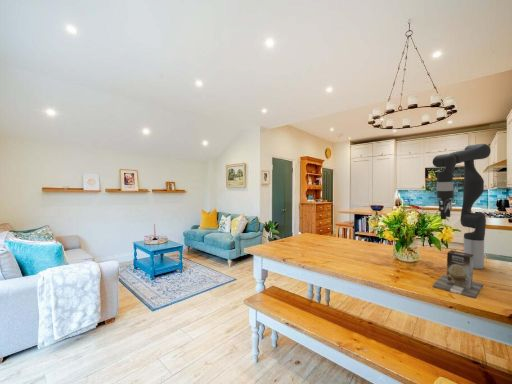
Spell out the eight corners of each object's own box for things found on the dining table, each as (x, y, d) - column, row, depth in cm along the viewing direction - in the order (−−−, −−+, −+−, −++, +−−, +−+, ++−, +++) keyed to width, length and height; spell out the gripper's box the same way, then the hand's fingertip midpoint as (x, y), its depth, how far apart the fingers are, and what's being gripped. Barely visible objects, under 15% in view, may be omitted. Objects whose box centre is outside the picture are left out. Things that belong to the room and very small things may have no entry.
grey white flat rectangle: (443, 276, 131) (443, 274, 131) (482, 285, 119) (482, 283, 119) (432, 286, 119) (432, 284, 119) (475, 298, 106) (475, 296, 106)
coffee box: (445, 283, 120) (446, 252, 120) (450, 279, 124) (450, 250, 123) (469, 289, 113) (469, 256, 112) (473, 286, 116) (473, 254, 116)
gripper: (449, 190, 126) (450, 220, 127) (456, 188, 135) (457, 216, 136) (432, 190, 132) (433, 219, 133) (440, 189, 141) (441, 215, 142)
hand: (445, 217), depth 134 cm, fingers open, 8 cm apart
